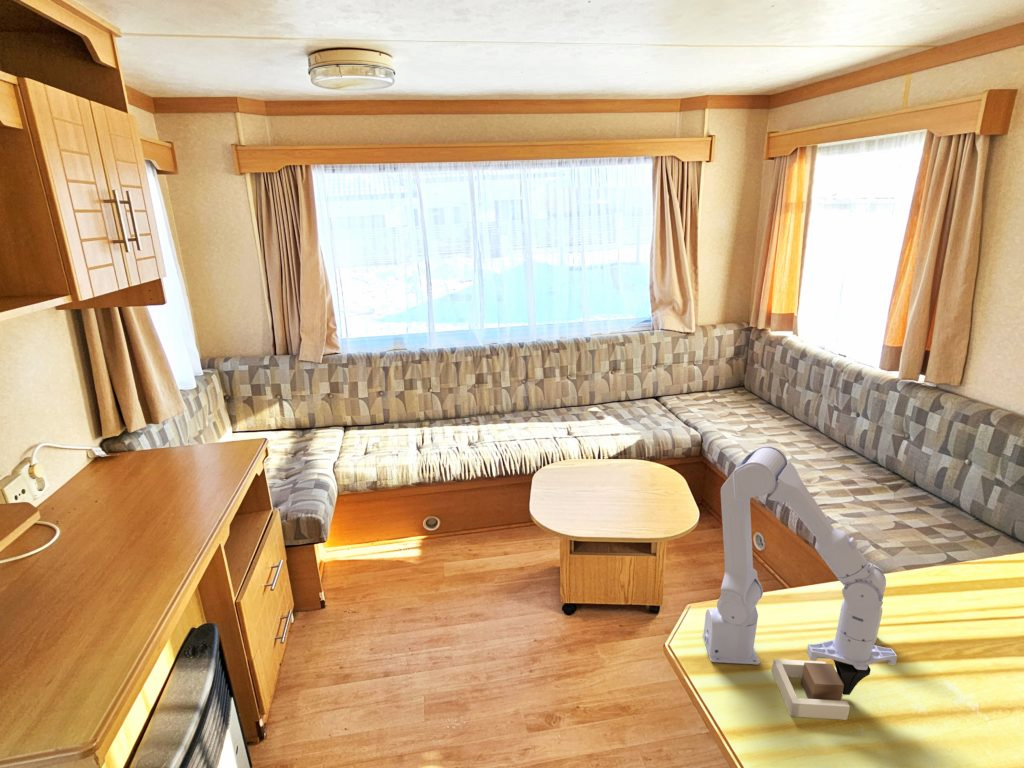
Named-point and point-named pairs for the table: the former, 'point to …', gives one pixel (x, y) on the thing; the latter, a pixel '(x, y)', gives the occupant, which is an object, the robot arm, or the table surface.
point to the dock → (801, 705)
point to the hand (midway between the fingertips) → (844, 690)
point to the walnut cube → (821, 682)
